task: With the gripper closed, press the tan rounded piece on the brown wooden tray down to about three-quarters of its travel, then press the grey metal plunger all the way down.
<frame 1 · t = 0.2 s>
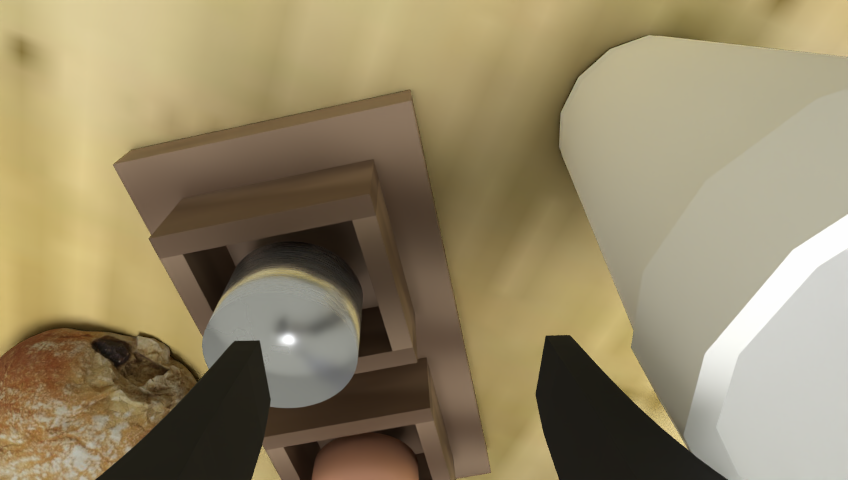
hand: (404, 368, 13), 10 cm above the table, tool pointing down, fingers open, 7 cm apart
foam cup: (636, 119, 20), on the table, touching gripper
brown wooden tray: (344, 329, 25), on the table
bread roll: (118, 396, 27), on the table
grey plunger: (289, 324, 17), point 5 cm above the table, slide at 0.0 cm
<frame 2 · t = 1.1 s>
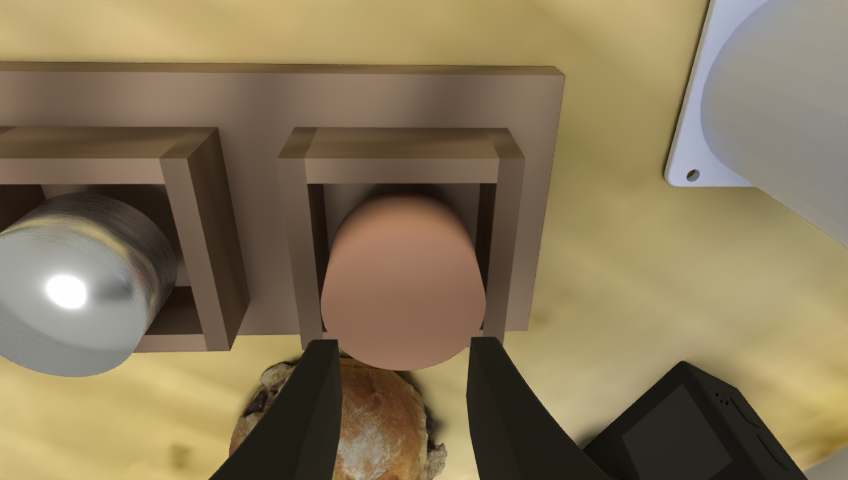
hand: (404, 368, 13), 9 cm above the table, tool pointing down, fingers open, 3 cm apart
brown wooden tray: (278, 204, 21), on the table
bread roll: (346, 415, 28), on the table
digital camera: (632, 425, 29), on the table
grey plunger: (78, 284, 16), point 5 cm above the table, slide at 0.0 cm
tan rounded piece: (403, 280, 16), point 5 cm above the table, slide at 0.0 cm
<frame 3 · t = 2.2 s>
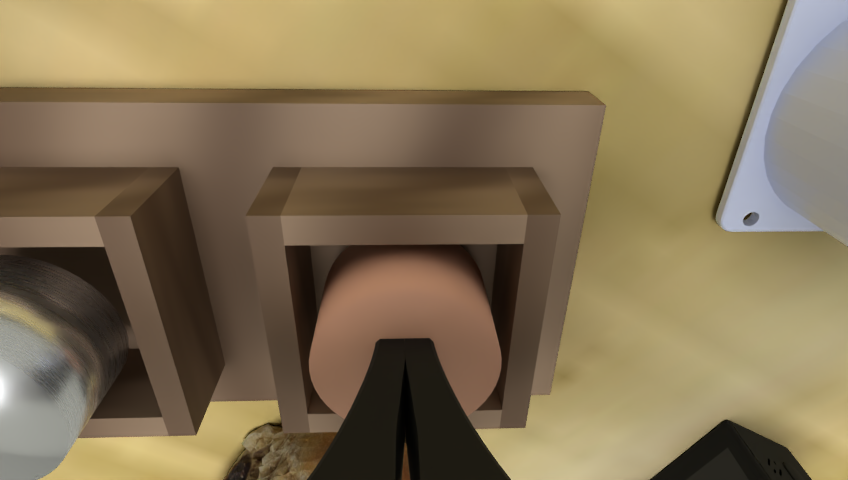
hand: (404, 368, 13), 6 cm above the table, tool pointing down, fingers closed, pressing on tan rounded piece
brown wooden tray: (257, 252, 18), on the table
bread roll: (341, 477, 24), on the table
tan rounded piece: (405, 330, 14), point 4 cm above the table, slide at 1.3 cm, touching gripper
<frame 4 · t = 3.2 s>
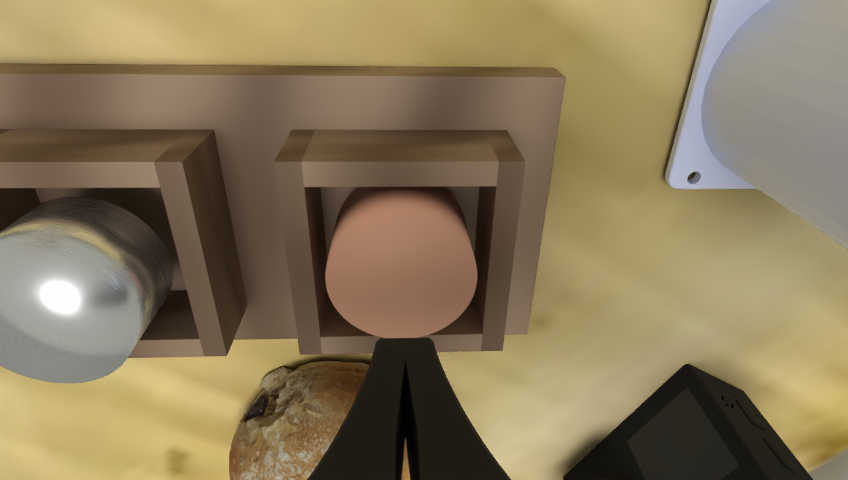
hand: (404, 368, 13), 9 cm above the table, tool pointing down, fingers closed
brown wooden tray: (275, 207, 21), on the table
bread roll: (347, 419, 27), on the table
digital camera: (638, 428, 29), on the table
grey plunger: (72, 289, 16), point 5 cm above the table, slide at 0.0 cm
tan rounded piece: (401, 255, 18), point 4 cm above the table, slide at 1.7 cm
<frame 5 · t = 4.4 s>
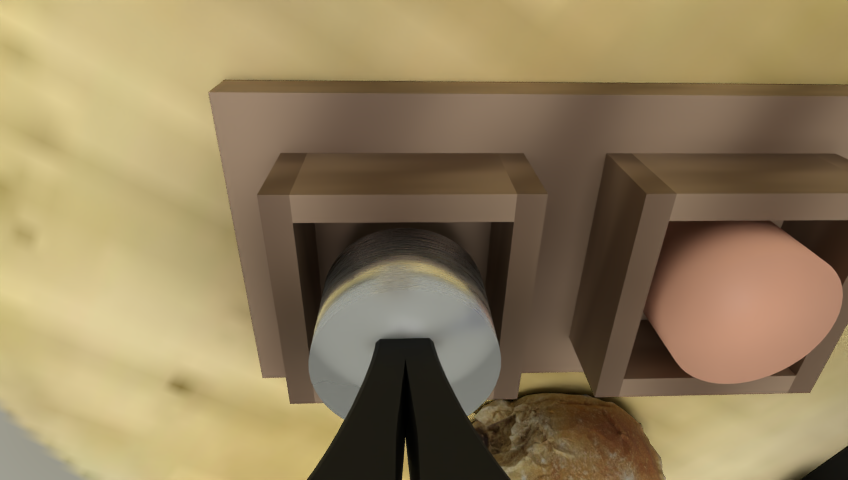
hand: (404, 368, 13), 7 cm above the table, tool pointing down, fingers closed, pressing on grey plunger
brown wooden tray: (538, 233, 19), on the table
bread roll: (546, 451, 26), on the table
digital camera: (846, 460, 27), on the table
grey plunger: (404, 330, 14), point 5 cm above the table, slide at 0.1 cm, touching gripper
tan rounded piece: (725, 292, 16), point 4 cm above the table, slide at 1.7 cm
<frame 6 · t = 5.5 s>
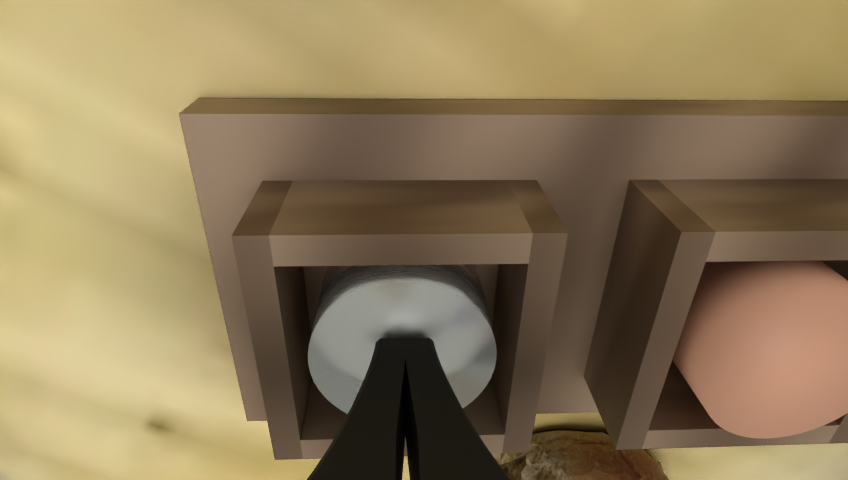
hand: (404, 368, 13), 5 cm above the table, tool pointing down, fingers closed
brown wooden tray: (550, 263, 17), on the table
grey plunger: (402, 323, 14), point 3 cm above the table, slide at 2.5 cm
tan rounded piece: (763, 335, 14), point 4 cm above the table, slide at 1.7 cm
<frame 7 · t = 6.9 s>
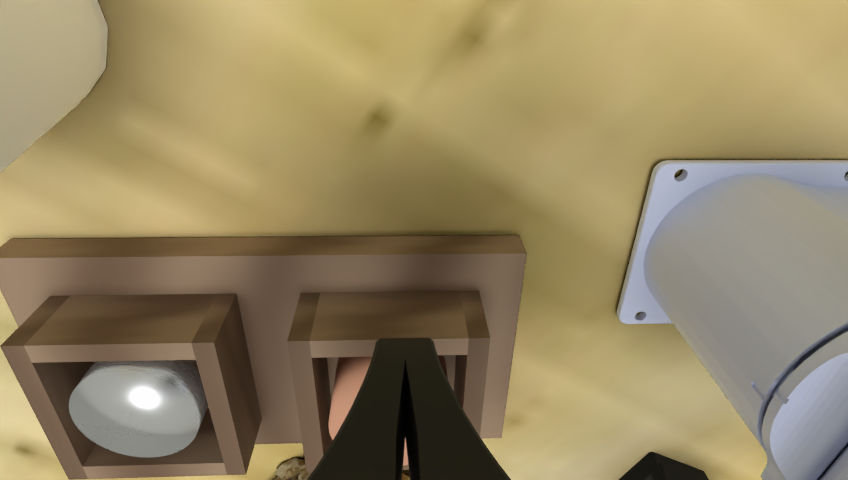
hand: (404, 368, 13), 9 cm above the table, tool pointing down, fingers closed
foam cup: (11, 15, 17), on the table
brown wooden tray: (286, 338, 24), on the table
grey plunger: (151, 388, 21), point 3 cm above the table, slide at 2.5 cm
tan rounded piece: (391, 397, 21), point 4 cm above the table, slide at 1.7 cm
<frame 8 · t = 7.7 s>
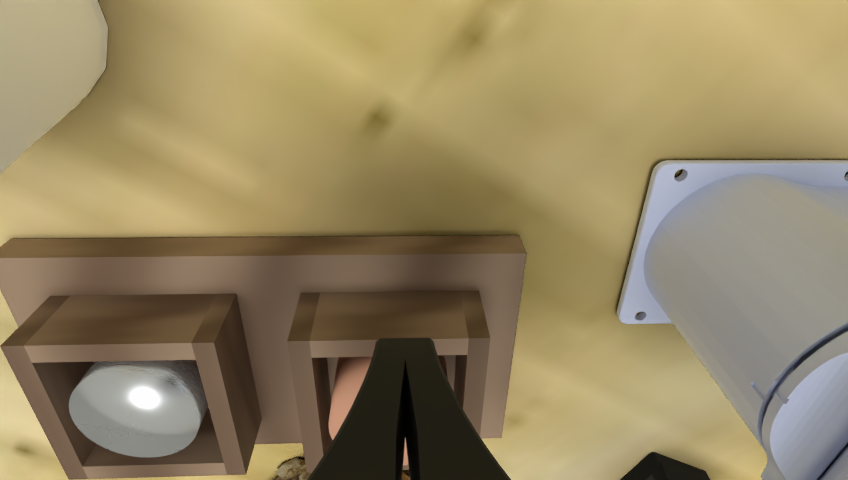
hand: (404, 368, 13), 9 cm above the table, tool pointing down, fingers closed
foam cup: (11, 15, 17), on the table
brown wooden tray: (286, 338, 24), on the table
grey plunger: (151, 388, 21), point 3 cm above the table, slide at 2.5 cm
tan rounded piece: (391, 397, 21), point 4 cm above the table, slide at 1.7 cm
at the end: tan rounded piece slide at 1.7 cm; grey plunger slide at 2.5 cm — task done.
